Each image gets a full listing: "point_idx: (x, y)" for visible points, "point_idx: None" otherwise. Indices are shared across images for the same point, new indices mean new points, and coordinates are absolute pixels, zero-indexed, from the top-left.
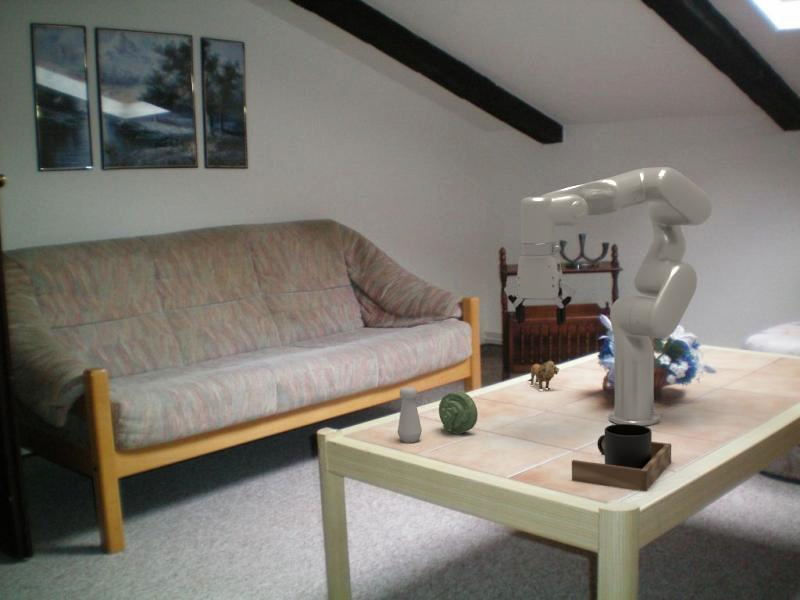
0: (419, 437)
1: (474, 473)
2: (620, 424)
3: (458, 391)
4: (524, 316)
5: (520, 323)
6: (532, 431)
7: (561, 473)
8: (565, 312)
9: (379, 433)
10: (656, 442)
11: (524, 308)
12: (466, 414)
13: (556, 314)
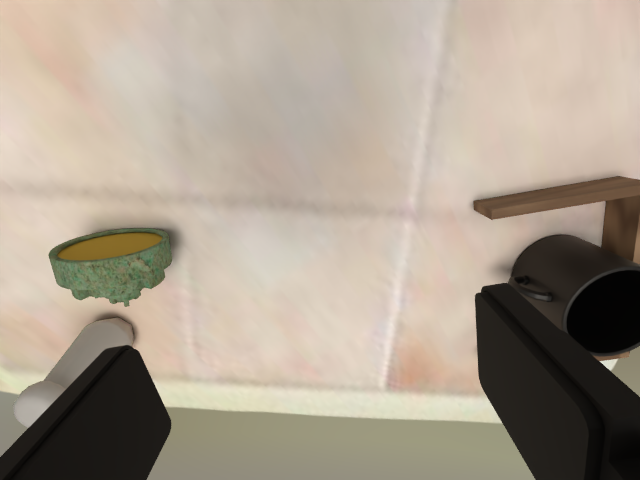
0: (129, 329)
1: (330, 399)
2: (589, 284)
3: (70, 263)
4: (110, 388)
5: (162, 411)
6: (264, 141)
7: (449, 335)
8: (621, 384)
9: (35, 327)
10: (620, 191)
11: (40, 461)
12: (157, 275)
13: (531, 472)
